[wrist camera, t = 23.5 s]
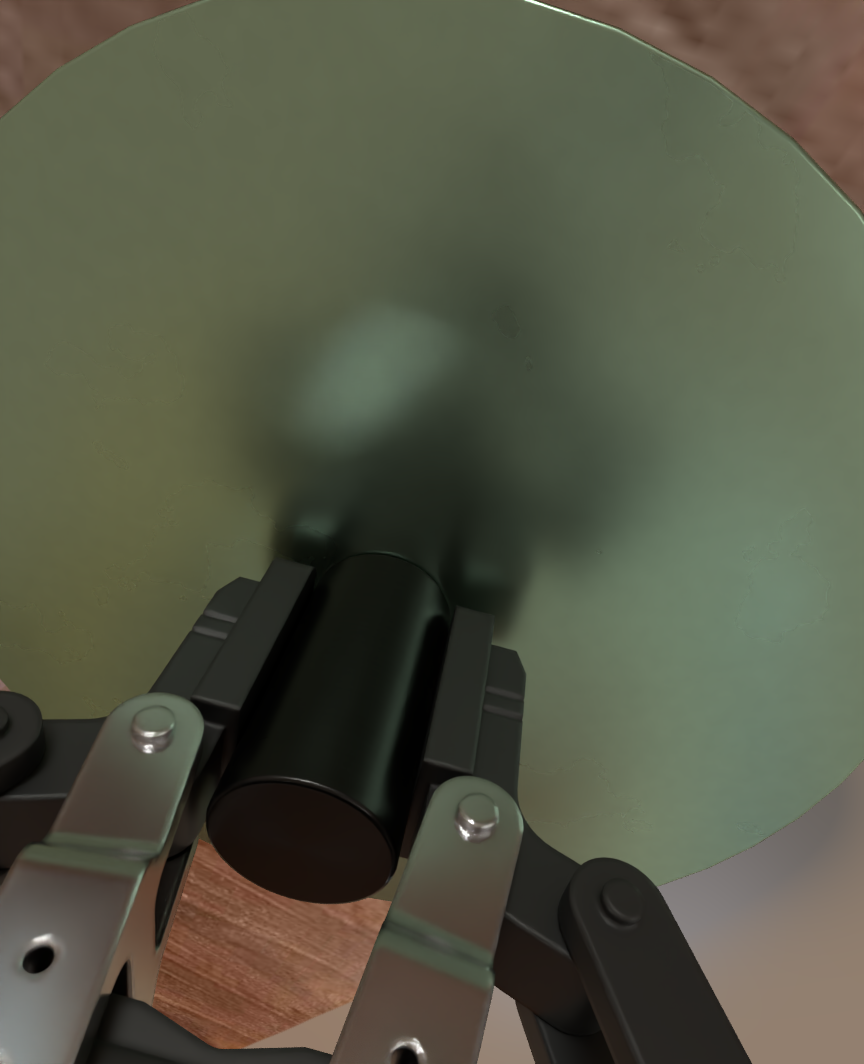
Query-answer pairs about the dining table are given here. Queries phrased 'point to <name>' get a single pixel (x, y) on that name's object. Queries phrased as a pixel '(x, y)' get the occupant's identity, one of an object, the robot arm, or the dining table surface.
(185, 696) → the robot arm
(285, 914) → the dining table surface
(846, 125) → the dining table surface
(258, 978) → the dining table surface
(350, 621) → the lid
